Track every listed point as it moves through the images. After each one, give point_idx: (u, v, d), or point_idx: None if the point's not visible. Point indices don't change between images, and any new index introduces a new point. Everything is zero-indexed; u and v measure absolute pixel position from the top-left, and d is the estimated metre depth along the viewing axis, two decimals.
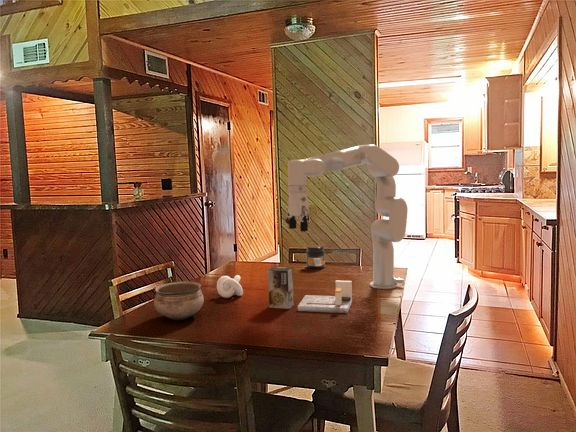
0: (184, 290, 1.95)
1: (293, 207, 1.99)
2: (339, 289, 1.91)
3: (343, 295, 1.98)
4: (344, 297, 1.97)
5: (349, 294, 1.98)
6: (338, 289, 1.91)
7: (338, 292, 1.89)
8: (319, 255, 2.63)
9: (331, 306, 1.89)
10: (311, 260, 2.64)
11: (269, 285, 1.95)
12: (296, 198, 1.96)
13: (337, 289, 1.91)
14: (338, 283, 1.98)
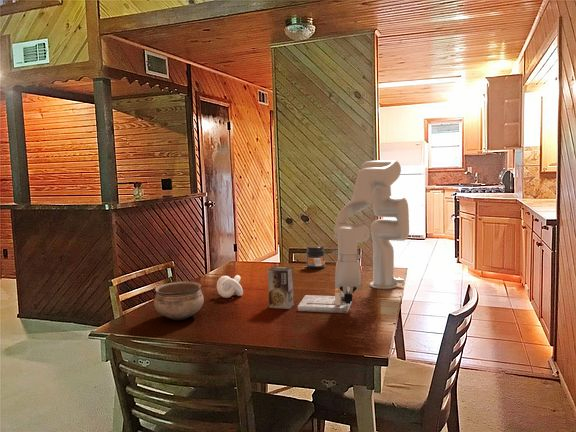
0: (184, 290, 1.95)
1: (348, 277, 1.86)
2: (339, 289, 1.91)
3: (343, 295, 1.98)
4: None
5: None
6: (338, 289, 1.91)
7: (338, 292, 1.89)
8: (319, 255, 2.63)
9: (331, 306, 1.89)
10: (311, 260, 2.64)
11: (269, 285, 1.95)
12: (355, 268, 1.86)
13: (337, 289, 1.91)
14: None
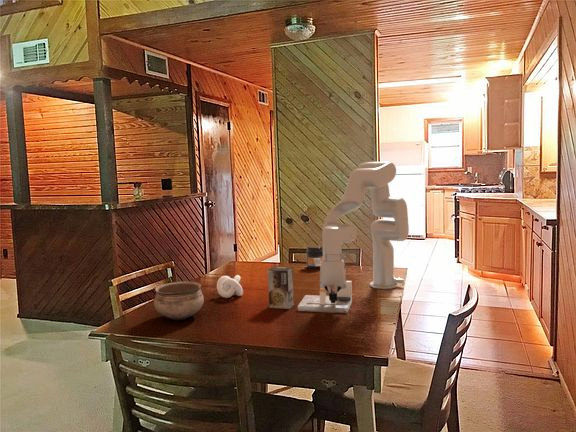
0: (184, 290, 1.95)
1: (333, 277, 1.88)
2: None
3: (343, 295, 1.98)
4: (344, 297, 1.97)
5: (349, 294, 1.98)
6: None
7: (322, 291, 1.90)
8: (319, 255, 2.63)
9: (331, 306, 1.89)
10: (311, 260, 2.64)
11: (269, 285, 1.95)
12: (339, 268, 1.87)
13: (322, 288, 1.92)
14: None
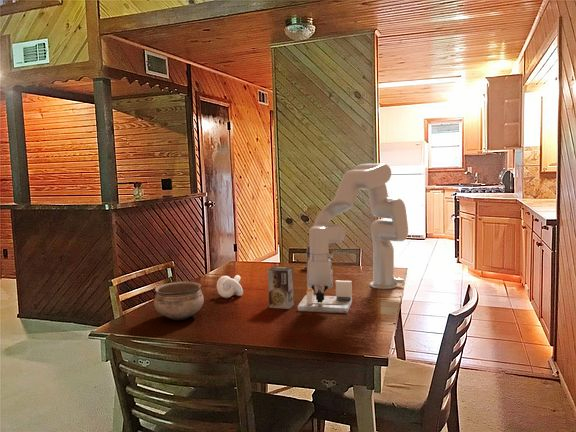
0: (184, 290, 1.95)
1: (320, 276, 1.89)
2: (311, 288, 1.93)
3: (343, 295, 1.98)
4: (344, 297, 1.97)
5: (349, 294, 1.98)
6: (310, 288, 1.93)
7: (309, 291, 1.91)
8: None
9: (331, 306, 1.89)
10: None
11: (269, 285, 1.95)
12: (326, 267, 1.88)
13: (309, 288, 1.93)
14: (338, 283, 1.98)
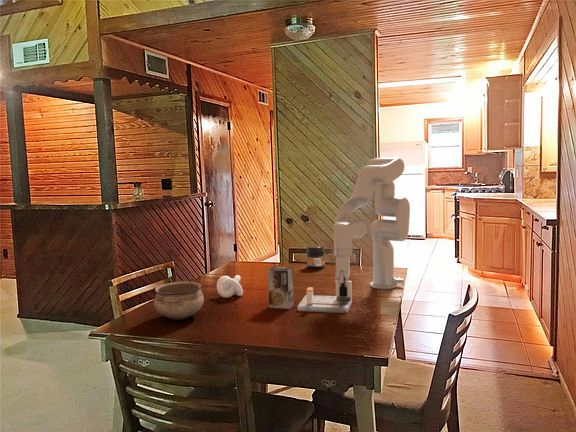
0: (184, 290, 1.95)
1: (349, 269, 1.98)
2: (311, 288, 1.93)
3: None
4: (344, 297, 1.97)
5: (349, 294, 1.98)
6: (310, 288, 1.93)
7: (309, 291, 1.91)
8: (319, 255, 2.63)
9: (331, 306, 1.89)
10: (311, 260, 2.64)
11: (269, 285, 1.95)
12: None
13: (309, 288, 1.93)
14: (338, 283, 1.98)
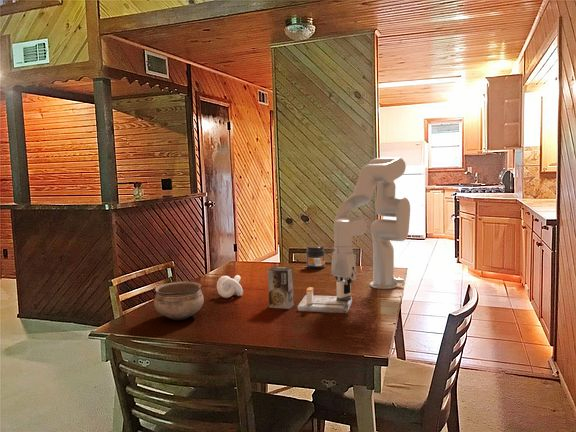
0: (184, 290, 1.95)
1: None
2: (311, 288, 1.93)
3: (345, 295, 1.99)
4: (348, 296, 1.98)
5: None
6: (310, 288, 1.93)
7: (309, 291, 1.91)
8: (319, 255, 2.63)
9: (331, 306, 1.89)
10: (311, 260, 2.64)
11: (269, 285, 1.95)
12: None
13: (309, 288, 1.93)
14: (342, 284, 1.97)
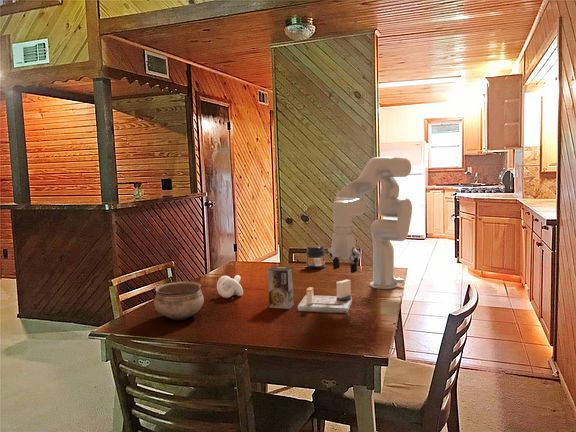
0: (184, 290, 1.95)
1: None
2: (311, 288, 1.93)
3: (345, 295, 1.99)
4: (348, 296, 1.98)
5: (349, 292, 2.00)
6: (310, 288, 1.93)
7: (309, 291, 1.91)
8: (319, 255, 2.63)
9: (331, 306, 1.89)
10: (311, 260, 2.64)
11: (269, 285, 1.95)
12: None
13: (309, 288, 1.93)
14: (342, 284, 1.97)
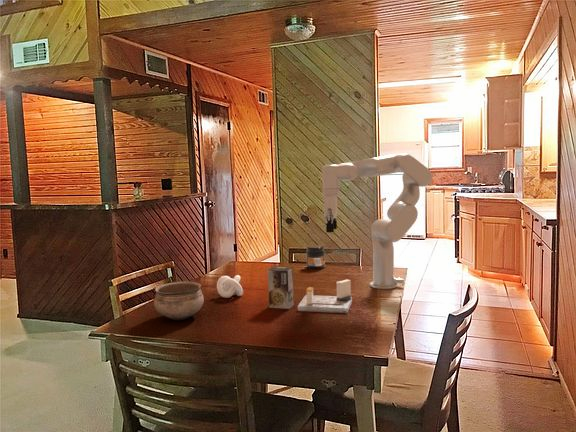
0: (184, 290, 1.95)
1: (336, 209, 2.13)
2: (311, 288, 1.93)
3: (345, 295, 1.99)
4: (348, 296, 1.98)
5: (349, 292, 2.00)
6: (310, 288, 1.93)
7: (309, 291, 1.91)
8: (319, 255, 2.63)
9: (331, 306, 1.89)
10: (311, 260, 2.64)
11: (269, 285, 1.95)
12: None
13: (309, 288, 1.93)
14: (342, 284, 1.97)
